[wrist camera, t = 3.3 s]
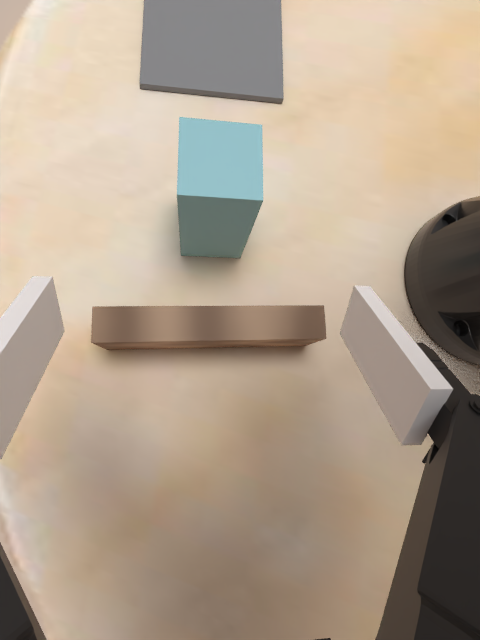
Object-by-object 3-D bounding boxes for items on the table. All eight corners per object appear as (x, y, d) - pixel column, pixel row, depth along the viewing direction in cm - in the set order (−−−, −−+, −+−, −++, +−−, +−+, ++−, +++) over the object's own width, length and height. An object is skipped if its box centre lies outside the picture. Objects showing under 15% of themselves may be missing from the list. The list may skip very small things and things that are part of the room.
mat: (278, -50, 38) (279, -57, 37) (281, 103, 34) (283, 98, 34) (149, -71, 36) (148, -79, 35) (140, 88, 33) (139, 83, 32)
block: (240, 203, 32) (262, 124, 22) (240, 258, 31) (263, 200, 21) (182, 200, 31) (179, 116, 22) (181, 255, 31) (177, 194, 21)
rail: (302, 318, 31) (323, 305, 26) (304, 345, 31) (326, 338, 26) (108, 319, 29) (92, 306, 24) (107, 350, 29) (91, 342, 24)
